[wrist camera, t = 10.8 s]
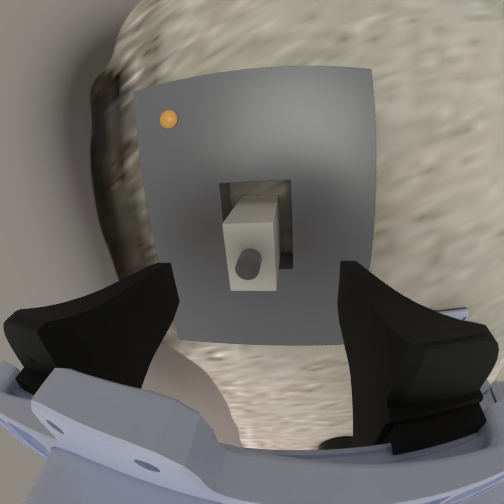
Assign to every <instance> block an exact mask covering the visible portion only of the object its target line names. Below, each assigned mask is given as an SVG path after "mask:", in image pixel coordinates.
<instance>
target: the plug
mask: <svg viewBox="0 0 504 504" xmlns="http://www.w3.org/2000/svg"><path fill="white" fill-rule="evenodd" d="M222 226H223V234H224V242H225V250H226V258H227V266H228V274H229V281H230V289H231V291H276V289H277V280H278V271H279V261H280V252H281V237H280V215H279V195H267V196H243V197H241V198H240V200H239V201H238V203H237V204H236V205H235V207H234V208H233V210H232V211H231V212H230V214H229V215H228V217H227V218H226V219H225V221H224V222H223V224H222Z"/></svg>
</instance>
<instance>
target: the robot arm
mask: <svg viewBox="0 0 504 504" xmlns="http://www.w3.org/2000/svg"><path fill="white" fill-rule="evenodd" d="M179 303H180V300H179V296H178V292H177V288H176V283H175V279H174V275H173V270H172V266H171V263H156V264H153V265H151V266H148V267H146V268H144V269H142V270H140V271H138V272H136V273H134V274H132V275H130V276H128V277H126V278H124V279H122V280H120V281H118V282H116V283H114V284H112V285H110V286H108V287H106V288H104V289H101V290H99V291H97V292H94V293H92V294H89V295H87V296H84V297H81V298H77V299H74V300H71V301H68V302H64V303H60V304H56V305H51V306H46V307H40V308H30V309H20V310H17V311H16V312H14V313H13V314H12V315H11V316H10V317H9V318H8V319H7V320H6V321H5V322H4V333H5V336H6V338H7V340H8V342H9V344H10V346H11V347H12V349H13V351H14V352H15V354H16V356H17V357H18V359H19V360H20V362H21V363H22V365H23V366H24V368H23V370H22V371H21V372H20V371H19V370H18V369H17V368H16V367H15V366H13V365H11V364H9V363H8V362H6V361H3V363H2V364H1V365H0V424H1V425H2V426H3V427H4V428H5V429H6V430H7V431H8V432H9V433H10V434H11V435H12V436H14V437H15V438H16V439H17V440H19V441H20V442H21V443H22V444H24V445H25V446H26V447H28V448H29V449H30V450H32V451H33V452H34V453H36V454H37V455H38V456H40V457H41V458H42V459H44V460H45V461H46V462H45V464H44V465H43V467H42V469H41V471H40V473H39V475H38V476H37V478H36V480H35V482H34V484H33V486H32V488H31V490H30V492H29V493H28V496H27V497H26V499H25V501H24V503H23V504H504V381H498V380H495V381H494V382H493V383H492V384H490V383H489V382H488V380H487V377H488V376H489V374H490V372H491V371H492V369H493V367H494V365H495V363H496V361H497V357H498V352H499V348H498V343H497V342H496V340H495V339H494V337H493V335H492V334H491V332H490V331H489V329H488V328H487V326H486V325H483V324H478V323H473V322H469V321H467V318H468V316H469V310H468V309H458V310H449V311H440V312H436V311H434V310H431V309H429V308H427V307H424V306H422V305H420V304H418V303H416V302H414V301H412V300H410V299H409V298H407V297H405V296H403V295H402V294H400V293H398V292H397V291H395V290H394V289H392V288H391V287H389V286H388V285H386V284H385V283H384V282H382V281H381V280H380V279H378V278H377V277H376V276H375V275H373V274H372V273H371V272H369V271H368V270H367V269H366V268H365V267H363V266H362V265H361V264H359V263H358V262H357V261H340V276H339V288H338V299H337V306H338V316H339V324H340V328H341V332H342V336H343V341H344V345H345V349H346V353H347V358H348V362H349V368H350V374H351V386H352V402H353V448H346V449H331V450H268V449H253V448H241V447H236V446H231V445H228V444H223V443H219V442H218V440H217V438H216V436H215V433H214V431H213V429H212V428H211V426H210V425H209V424H208V423H207V422H206V421H205V419H204V418H203V417H202V416H201V415H200V414H199V413H198V412H197V411H195V410H194V409H192V408H190V407H189V406H187V405H185V404H183V403H182V402H180V401H179V400H177V399H173V398H171V397H168V396H165V395H161V394H159V393H156V392H153V391H149V390H144V389H141V387H142V384H143V381H144V378H145V376H146V373H147V370H148V368H149V365H150V363H151V361H152V358H153V356H154V354H155V352H156V350H157V349H158V347H159V345H160V343H161V342H162V340H163V338H164V336H165V334H166V332H167V331H168V329H169V327H170V325H171V323H172V321H173V319H174V317H175V314H176V312H177V309H178V306H179ZM463 317H464V318H463Z"/></svg>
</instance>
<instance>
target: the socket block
mask: <svg viewBox="0 0 504 504" xmlns="http://www.w3.org/2000/svg"><path fill="white" fill-rule="evenodd" d="M133 96H134V109H135V120H136V130H137V139H138V147H139V155H140V162H141V169H142V176H143V182H144V189H145V195H146V200H147V206H148V212H149V217H150V222H151V227H152V232H153V237H154V242H155V246H156V251H157V255H158V260H159V263H171V266H172V270H173V275H174V279H175V283H176V288H177V292H178V296H179V300H180V303H179V306H178V309H177V312H176V314H175V317H174V322H175V325H176V328H177V332H178V335H179V338H180V340H189V341H200V342H213V343H229V344H250V345H341V344H344V341H343V336H342V332H341V328H340V324H339V316H338V306H337V299H338V288H339V276H340V261H357V262H358V263H359V264H361V265H362V266H363V267H365V268H366V269H367V270H368V271H369V268H370V260H371V250H372V240H373V228H374V214H375V195H376V122H375V104H374V90H373V79H372V70H371V69H366V68H354V67H337V66H285V67H267V68H255V69H245V70H236V71H228V72H221V73H214V74H208V75H202V76H197V77H192V78H187V79H182V80H177V81H173V82H168V83H164V84H160V85H156V86H152V87H149V88H145V89H141V90H138V91H134V92H133ZM269 180H291V201H292V233H293V254H280V261H279V271H278V280H277V289H276V291H231V289H230V281H229V274H228V266H227V258H226V250H225V242H224V234H223V226H222V224H223V222H224V221H225V219H226V218H227V217H228V215H229V214H230V212H231V205H230V195H229V185H228V183H231V182H247V181H269Z"/></svg>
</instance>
